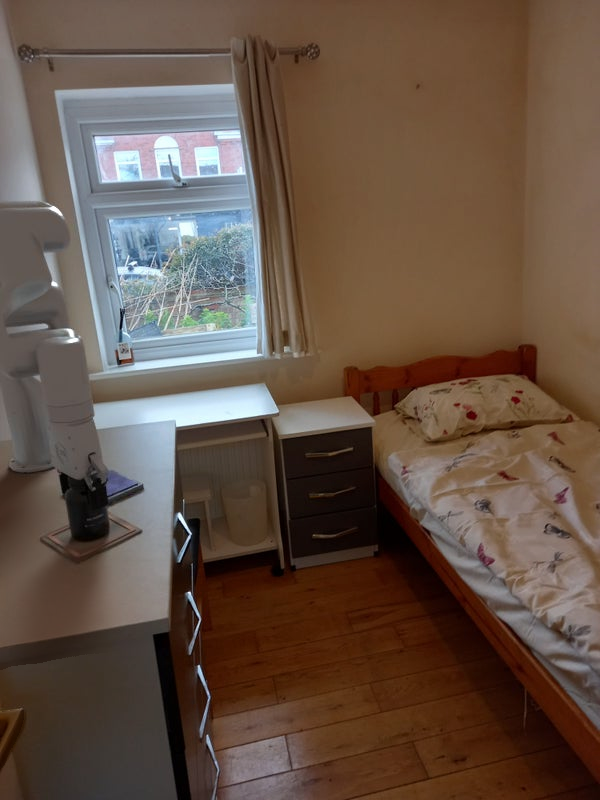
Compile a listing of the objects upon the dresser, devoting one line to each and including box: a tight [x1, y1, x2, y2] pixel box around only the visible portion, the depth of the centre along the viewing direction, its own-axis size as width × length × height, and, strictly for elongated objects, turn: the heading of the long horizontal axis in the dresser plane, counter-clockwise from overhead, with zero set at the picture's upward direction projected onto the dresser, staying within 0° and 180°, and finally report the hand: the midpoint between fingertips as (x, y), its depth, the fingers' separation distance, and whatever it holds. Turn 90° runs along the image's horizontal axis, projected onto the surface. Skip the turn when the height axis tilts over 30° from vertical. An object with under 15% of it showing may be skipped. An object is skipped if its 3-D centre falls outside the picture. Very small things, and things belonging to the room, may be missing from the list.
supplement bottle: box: [64, 469, 110, 542], centre depth 102 cm, size 7×7×12 cm
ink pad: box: [62, 469, 145, 506], centre depth 120 cm, size 12×12×2 cm
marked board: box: [39, 510, 143, 565], centre depth 104 cm, size 13×13×1 cm
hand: (85, 499), depth 102 cm, fingers open, 9 cm apart
